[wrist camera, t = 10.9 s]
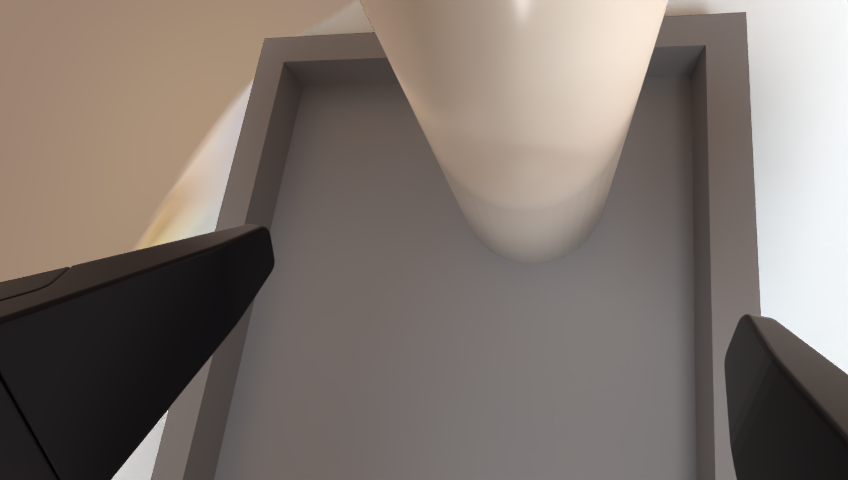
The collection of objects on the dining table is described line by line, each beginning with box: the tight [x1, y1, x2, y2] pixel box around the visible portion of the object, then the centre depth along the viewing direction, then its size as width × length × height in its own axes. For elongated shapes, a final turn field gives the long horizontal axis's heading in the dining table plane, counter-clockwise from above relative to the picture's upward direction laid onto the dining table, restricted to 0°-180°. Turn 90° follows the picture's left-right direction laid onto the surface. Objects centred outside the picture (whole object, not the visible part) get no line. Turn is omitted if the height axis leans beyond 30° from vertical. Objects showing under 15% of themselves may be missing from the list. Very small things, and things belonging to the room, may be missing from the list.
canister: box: [360, 0, 669, 263], centre depth 12 cm, size 5×5×13 cm
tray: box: [151, 12, 761, 480], centre depth 16 cm, size 24×18×2 cm
